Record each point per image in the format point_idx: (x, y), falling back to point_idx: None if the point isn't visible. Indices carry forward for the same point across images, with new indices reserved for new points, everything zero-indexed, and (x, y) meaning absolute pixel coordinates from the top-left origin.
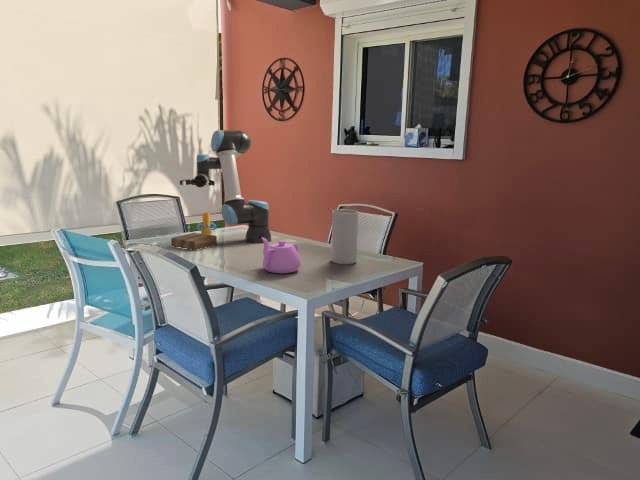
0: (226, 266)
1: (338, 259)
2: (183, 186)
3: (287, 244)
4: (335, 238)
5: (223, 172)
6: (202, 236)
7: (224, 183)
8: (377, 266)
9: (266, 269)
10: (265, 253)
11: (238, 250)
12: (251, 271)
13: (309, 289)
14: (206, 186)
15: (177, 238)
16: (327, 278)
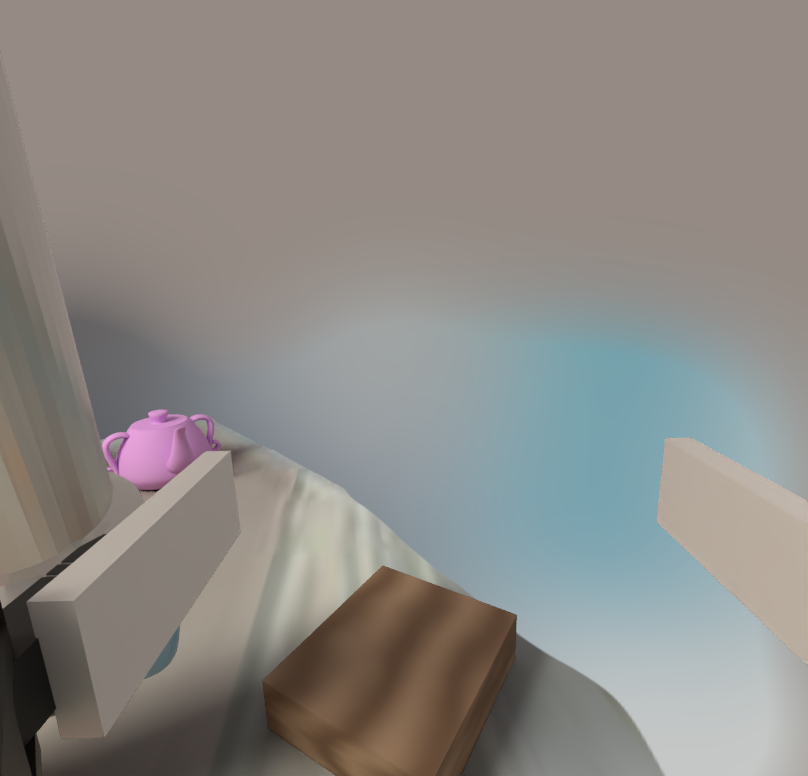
0: (287, 488)
1: None
2: (659, 520)
3: (140, 425)
4: None
5: (51, 251)
6: (352, 658)
7: (82, 374)
8: None
9: None
10: (212, 420)
11: (191, 615)
12: (239, 471)
13: None
14: (236, 525)
15: (480, 609)
16: (112, 454)
